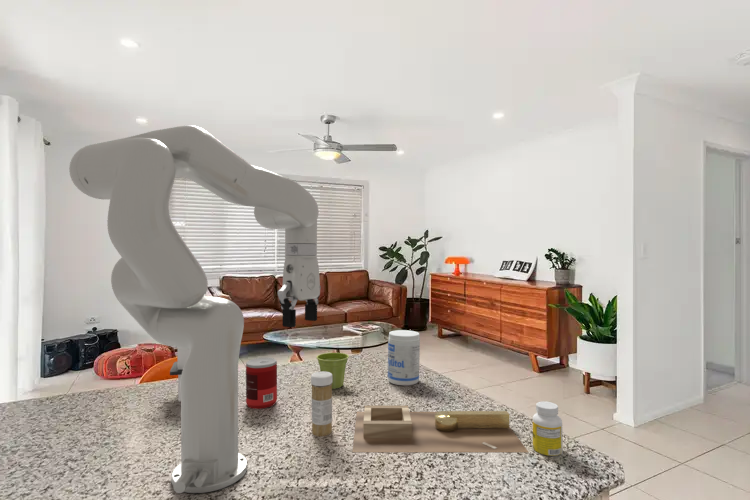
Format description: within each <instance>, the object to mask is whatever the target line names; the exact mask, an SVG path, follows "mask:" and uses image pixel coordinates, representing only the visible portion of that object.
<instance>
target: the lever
mask: <svg viewBox="0 0 750 500" xmlns="http://www.w3.org/2000/svg"><path fill="white" fill-rule="evenodd" d="M436 412H437V413H435V427H436V428H437V429H439V430H442V431H454V430H457V429H458V428H509V427H510V413H509V412H508V411H507V410H488V411H487V410H441V411H436Z"/></svg>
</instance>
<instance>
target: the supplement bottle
mask: <svg viewBox="0 0 750 500" xmlns="http://www.w3.org/2000/svg"><path fill="white" fill-rule="evenodd" d="M535 411H536V413H534V414H533V416H532V449H533V451H534V452H535V453H536V454H539V455H541V456H546V457H550V458H551V457H552V458H554V457H555V458H556V457H561V456H562V455H563V452H564V451H563V450H564V449H563V444H564V443H563V419H562V418H561V417H560V416H559V405H558V404H557V403H554V402H551V401H544V400H542V401H538V402H536V403H535Z"/></svg>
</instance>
